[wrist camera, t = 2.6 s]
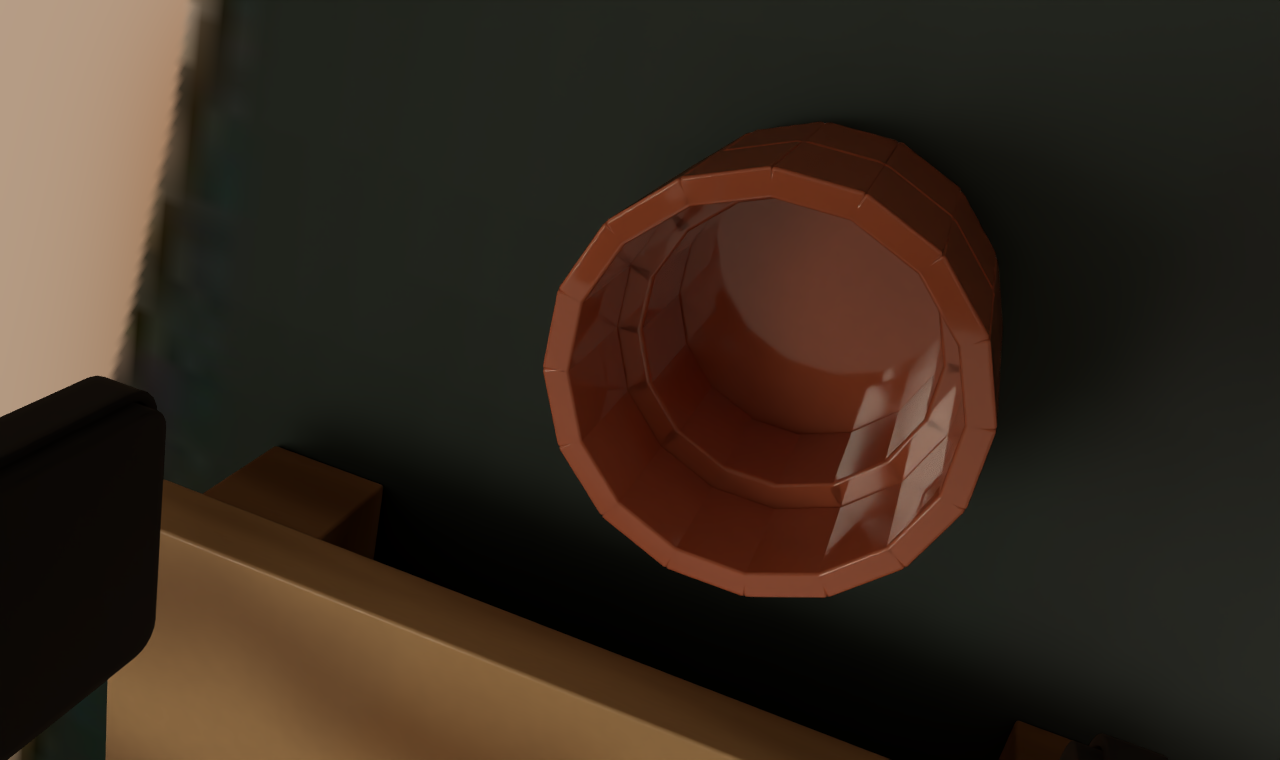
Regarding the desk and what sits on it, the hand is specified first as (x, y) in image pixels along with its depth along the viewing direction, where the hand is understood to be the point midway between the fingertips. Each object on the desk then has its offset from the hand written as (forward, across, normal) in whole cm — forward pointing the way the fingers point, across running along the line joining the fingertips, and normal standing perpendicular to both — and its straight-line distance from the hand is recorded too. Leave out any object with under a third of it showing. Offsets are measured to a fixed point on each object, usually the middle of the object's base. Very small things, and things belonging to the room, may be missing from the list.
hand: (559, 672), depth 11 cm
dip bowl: (+13, 0, 0) cm, 13 cm away
